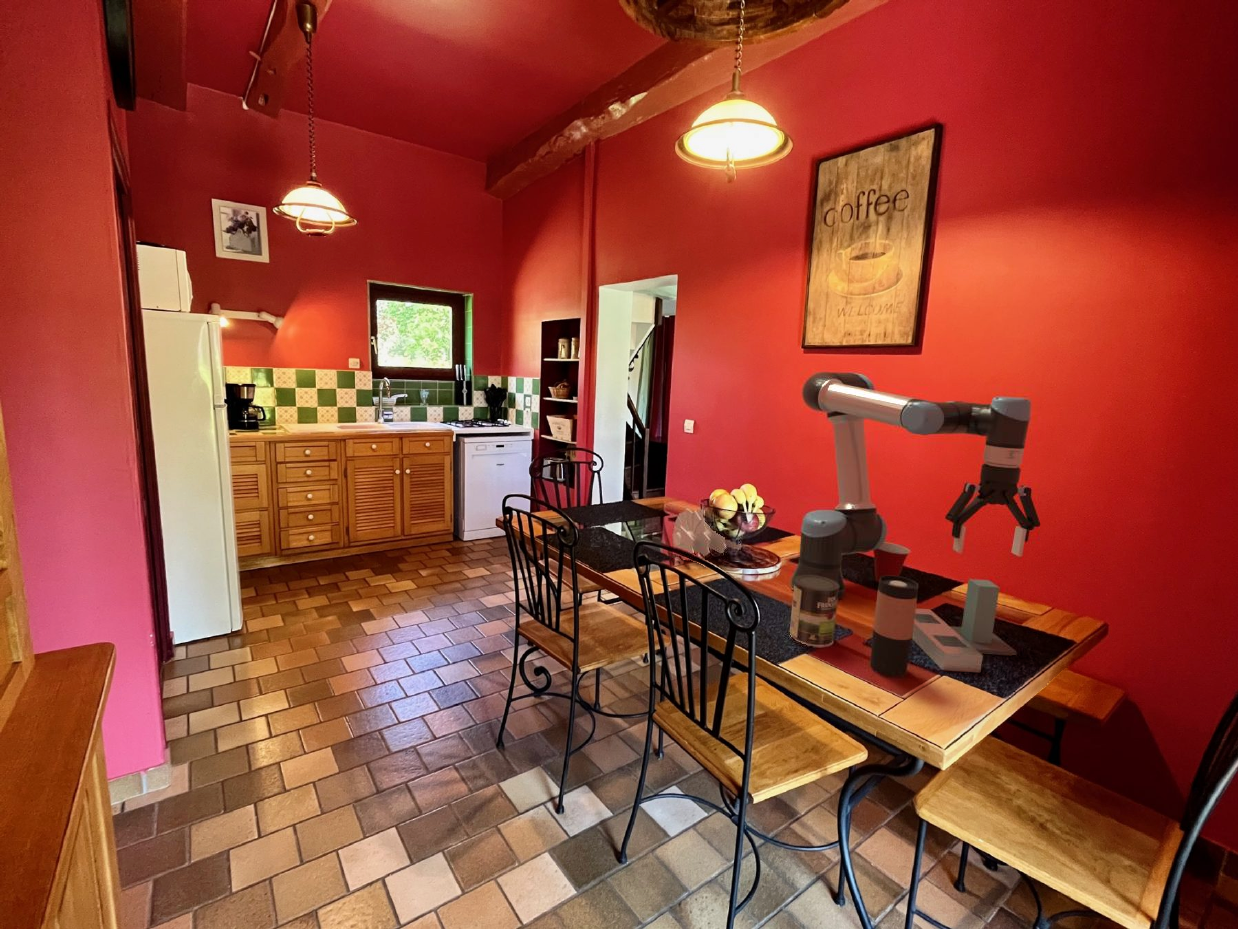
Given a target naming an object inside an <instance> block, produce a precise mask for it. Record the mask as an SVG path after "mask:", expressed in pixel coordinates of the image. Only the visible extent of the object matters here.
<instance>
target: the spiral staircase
mask: <svg viewBox="0 0 1238 929" xmlns="http://www.w3.org/2000/svg"><path fill="white" fill-rule="evenodd" d="M673 525H674V526H673V532H672V535H671V536H672V542H673V547H674V546H675V547H678V548H681V549H684V550H686V551H688V552H690V553H694V551H695V552H698V553H701V554H703V556H706V557H707V555H709V553H710V551H709V548H710V549H713V550H715V551H717V552H719V553H723V554H724V552H725V551H724V550H725V549H726V548H727V547H726V546H729V547H731V548H733V549H737V550H738V551H739V550H740V549H741V548H742V544H741V541H740V542H739V543H740V544H738V545H736V544H735V543H734V542H731V541H730V540H725V537H723V536H721V535H720V534H718V533H716V531H713V530H712V529H711V528H710V526H709V525H708V524H707V523H706V522H705V518H704V517H703V507H702V509H699V510H694V511H692V510H691V509H690V508H685V511H682V512H679V513H678V516H677V517H676V520H675V522H674V524H673ZM675 547H674V548H675Z"/></svg>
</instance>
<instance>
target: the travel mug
mask: <svg viewBox="0 0 1238 929" xmlns="http://www.w3.org/2000/svg"><path fill="white" fill-rule="evenodd" d="M877 587H878V589H877V597H876V603H875V611H874V619H873V626H872V627H873V629H872V637H871V638H872V639H871V648H870V650H871V651H870V663H869V664H870V667H871V670H873V671H874V672H876V673H878V674H880V675H882V676H885V677H889V678H902V677H905V676H906V674H907V670H908V665H909V660H910V659H909V658H910V654H911V653H910V652H911V647H912V641H913V639H912V636H913V627H914V619H915V610H916V609H917V601H918V591H919V583H917V582H916V581H914V580H913V579H911V578H907V577H904V576H900V575H899V576H891V575H887V576H882V577H880V579H879V583H878V586H877Z"/></svg>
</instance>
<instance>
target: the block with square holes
mask: <svg viewBox="0 0 1238 929" xmlns="http://www.w3.org/2000/svg"><path fill="white" fill-rule="evenodd" d="M912 641H914V642H915V643H916V644H917V645H918V647H920V649H922V650H923V652H924V653H926V655H927V656H928V657H929V658H930V659H931V660H932V661H933V662H934V663H935V664H936V665H937V666H938V667H939V668H940V669H941V671H952V672H966V673H967V672H969V673H981V669H982V662H983V658H984V657H983V656H984V655H983V654H981V653H980V652H978V651H977V650H976V649H975V648H974V647H973V646H971V645H970V644H969V643H968V642H967V641H966V640H965V639H963V638H962V637H961V636H960V635H959V634H958V633H956V632H955V631H954V630H953V629H952V628H951V627H950V626H949V624H947V623H946V622H945V621H944V620H943V619H942V618H940V617H939V616H938V615H937V614H936V613H935V612H934V611H933V610H931V609H930V608H916V610H915V619H914V627H913V636H912Z"/></svg>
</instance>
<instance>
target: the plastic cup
mask: <svg viewBox="0 0 1238 929" xmlns="http://www.w3.org/2000/svg"><path fill="white" fill-rule="evenodd" d="M910 553H911V550H910V549H909V548H908V547H905V546H902V545H900V544H897V543H892V542H886V541H884V543H883V544H882V545H881V546H880V547H879V548H877V549H875V550H873V561H874V563H873V564H874V572H875V573H874V574H875V582H876V581H877V582H879V579H880V577H882V576H887V575H891V576H900V575H901V572H902V569H903V568H904V563H905V561H906V559H907V557H908V555H909V554H910ZM877 582H876V583H877Z"/></svg>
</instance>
